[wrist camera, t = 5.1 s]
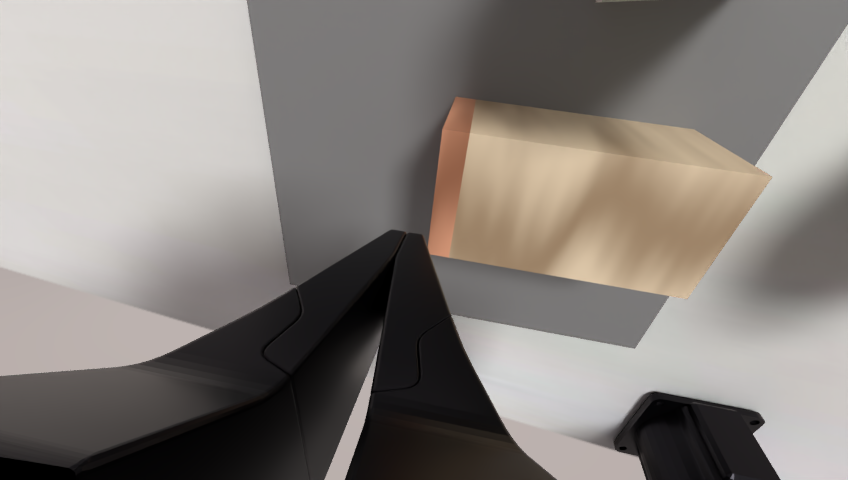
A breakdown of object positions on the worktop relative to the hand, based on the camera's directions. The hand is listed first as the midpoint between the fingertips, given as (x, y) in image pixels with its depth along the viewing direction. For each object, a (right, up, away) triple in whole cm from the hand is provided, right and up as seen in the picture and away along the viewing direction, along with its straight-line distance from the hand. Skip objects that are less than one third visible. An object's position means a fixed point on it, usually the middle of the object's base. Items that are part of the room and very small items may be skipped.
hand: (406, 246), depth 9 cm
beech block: (+1, +3, +4) cm, 5 cm away
